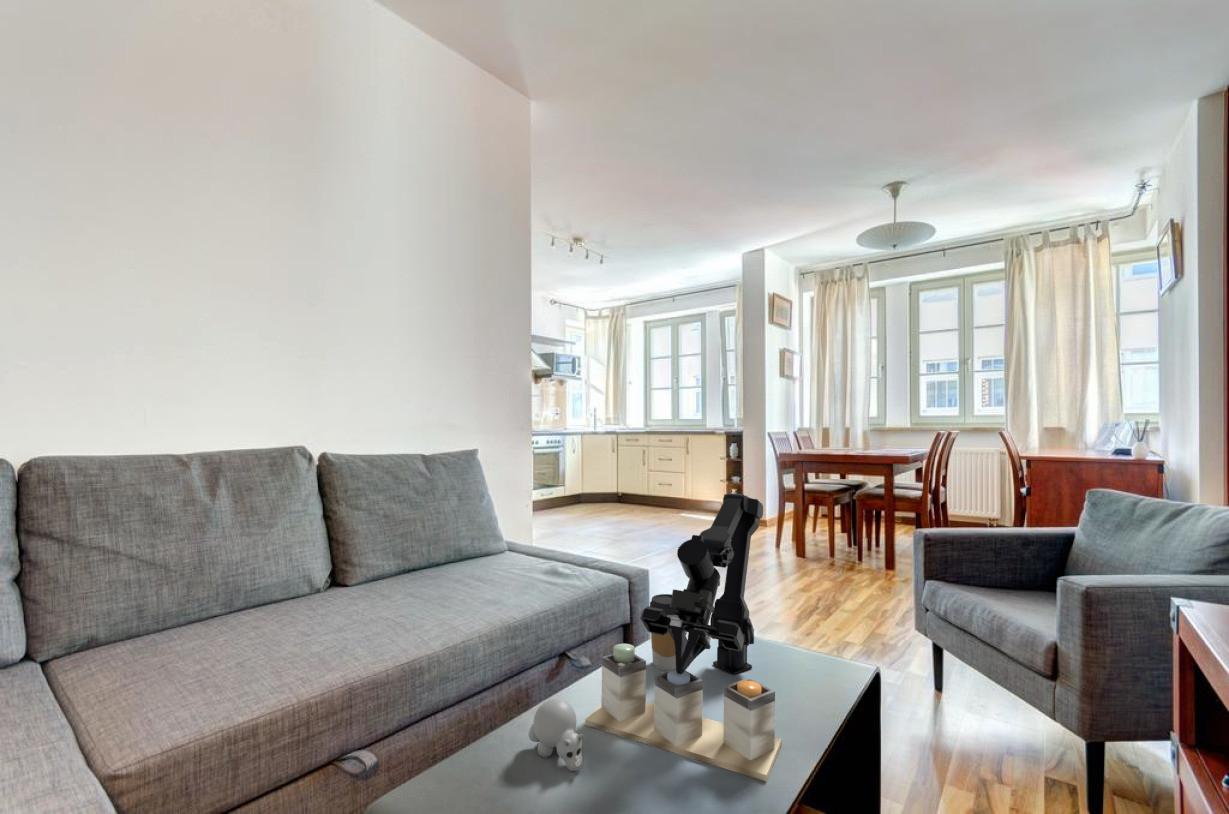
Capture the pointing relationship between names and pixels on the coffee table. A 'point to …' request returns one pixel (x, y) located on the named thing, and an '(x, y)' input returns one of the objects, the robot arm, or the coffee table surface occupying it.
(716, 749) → the button board
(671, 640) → the coffee cup
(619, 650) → the sage button
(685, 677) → the slate button
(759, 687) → the orange button
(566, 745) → the toy rhinoceros
